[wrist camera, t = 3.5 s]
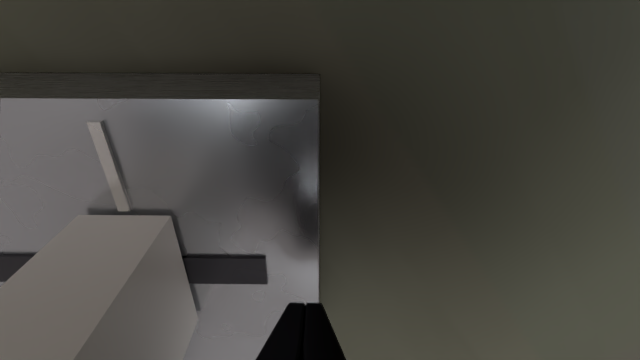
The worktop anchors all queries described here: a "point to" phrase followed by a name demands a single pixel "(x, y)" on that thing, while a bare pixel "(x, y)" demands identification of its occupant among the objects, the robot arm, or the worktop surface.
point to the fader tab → (101, 294)
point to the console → (176, 182)
